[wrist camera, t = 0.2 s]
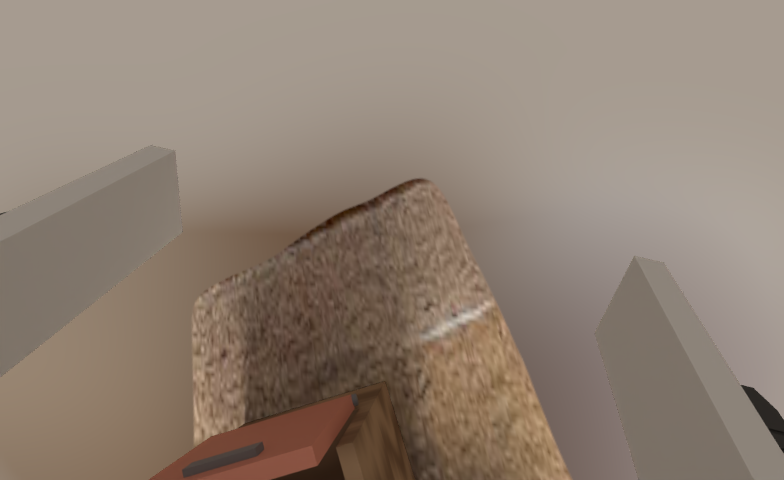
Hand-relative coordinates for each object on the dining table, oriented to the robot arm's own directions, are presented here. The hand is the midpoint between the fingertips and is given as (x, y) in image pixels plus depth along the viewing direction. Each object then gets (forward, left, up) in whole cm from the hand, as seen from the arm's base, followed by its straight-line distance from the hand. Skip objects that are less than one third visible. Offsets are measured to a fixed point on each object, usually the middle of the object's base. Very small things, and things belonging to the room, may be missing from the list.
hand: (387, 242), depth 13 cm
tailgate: (-9, +16, -26) cm, 32 cm away
